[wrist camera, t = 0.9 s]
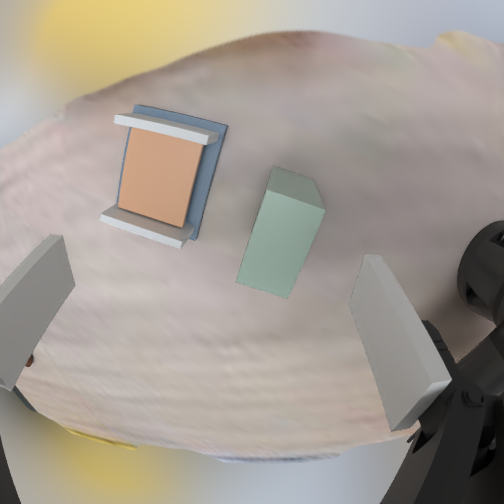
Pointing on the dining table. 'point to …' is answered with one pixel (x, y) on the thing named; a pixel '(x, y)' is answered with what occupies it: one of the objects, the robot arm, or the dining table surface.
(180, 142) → the snap seat
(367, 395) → the dining table surface
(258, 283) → the block
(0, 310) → the robot arm
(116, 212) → the rail cradle
